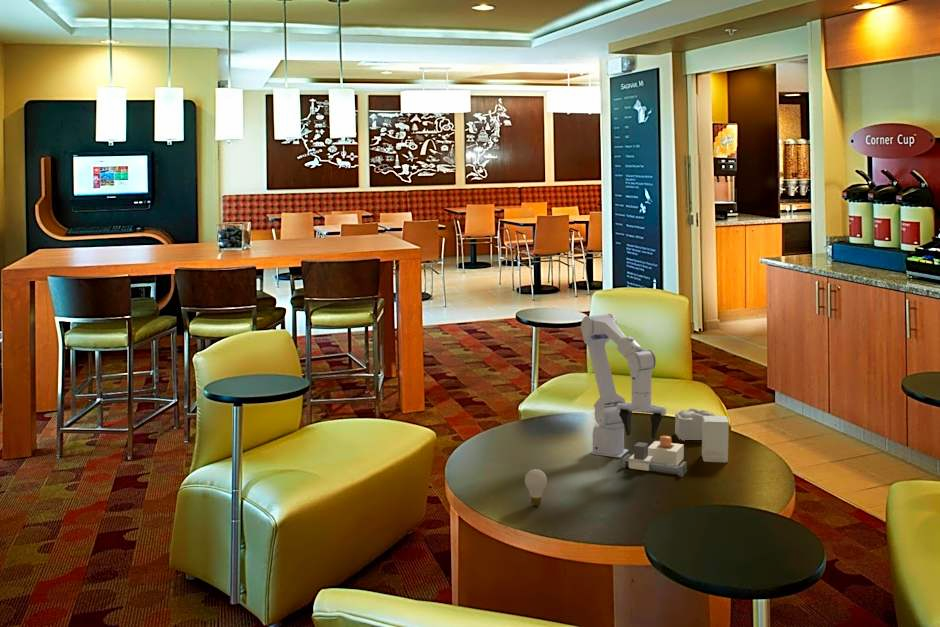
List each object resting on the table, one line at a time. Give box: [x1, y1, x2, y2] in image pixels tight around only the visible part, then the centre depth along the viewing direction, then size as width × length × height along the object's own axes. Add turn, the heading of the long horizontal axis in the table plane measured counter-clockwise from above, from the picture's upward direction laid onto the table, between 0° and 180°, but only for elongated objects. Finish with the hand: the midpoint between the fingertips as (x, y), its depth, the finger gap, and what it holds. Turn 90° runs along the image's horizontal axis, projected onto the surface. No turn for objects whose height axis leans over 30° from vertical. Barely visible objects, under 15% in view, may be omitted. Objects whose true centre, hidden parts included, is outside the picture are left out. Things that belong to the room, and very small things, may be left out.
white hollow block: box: [648, 440, 685, 465], centre depth 267 cm, size 9×8×4 cm
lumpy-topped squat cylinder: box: [674, 407, 717, 441], centre depth 291 cm, size 10×13×9 cm
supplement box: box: [701, 415, 730, 463], centre depth 267 cm, size 7×7×13 cm
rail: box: [621, 453, 688, 478], centre depth 259 cm, size 18×5×3 cm, turn 61°
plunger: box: [659, 435, 672, 449], centre depth 266 cm, size 3×3×5 cm
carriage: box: [628, 441, 653, 472], centre depth 260 cm, size 6×5×7 cm
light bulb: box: [524, 468, 548, 507], centre depth 232 cm, size 6×6×10 cm
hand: (641, 436), depth 259 cm, fingers open, 7 cm apart
